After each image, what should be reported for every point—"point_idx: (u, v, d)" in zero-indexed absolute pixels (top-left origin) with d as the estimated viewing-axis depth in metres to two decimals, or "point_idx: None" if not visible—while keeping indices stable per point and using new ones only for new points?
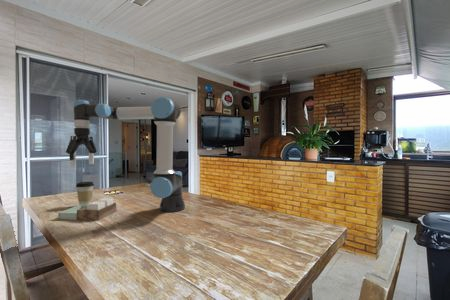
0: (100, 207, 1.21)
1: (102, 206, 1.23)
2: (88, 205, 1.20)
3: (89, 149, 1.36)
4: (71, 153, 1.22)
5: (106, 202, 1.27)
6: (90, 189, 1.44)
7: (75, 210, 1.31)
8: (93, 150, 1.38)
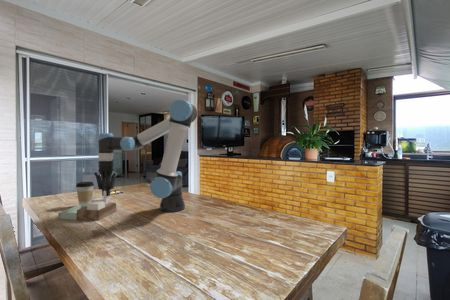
0: (100, 207, 1.21)
1: (102, 206, 1.23)
2: (88, 205, 1.20)
3: None
4: (102, 190, 1.30)
5: None
6: (90, 189, 1.44)
7: (75, 210, 1.31)
8: (107, 187, 1.29)
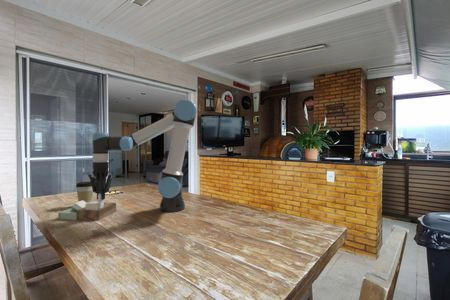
0: (98, 207, 1.21)
1: (100, 206, 1.23)
2: (86, 205, 1.20)
3: None
4: None
5: (74, 206, 1.29)
6: (90, 189, 1.44)
7: (75, 210, 1.31)
8: (102, 190, 1.20)
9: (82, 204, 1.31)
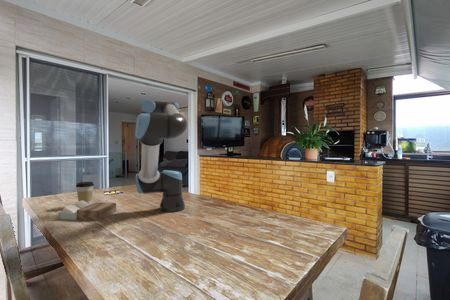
0: None
1: None
2: None
3: None
4: None
5: None
6: (90, 189, 1.44)
7: None
8: None
9: (82, 204, 1.31)
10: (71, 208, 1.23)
